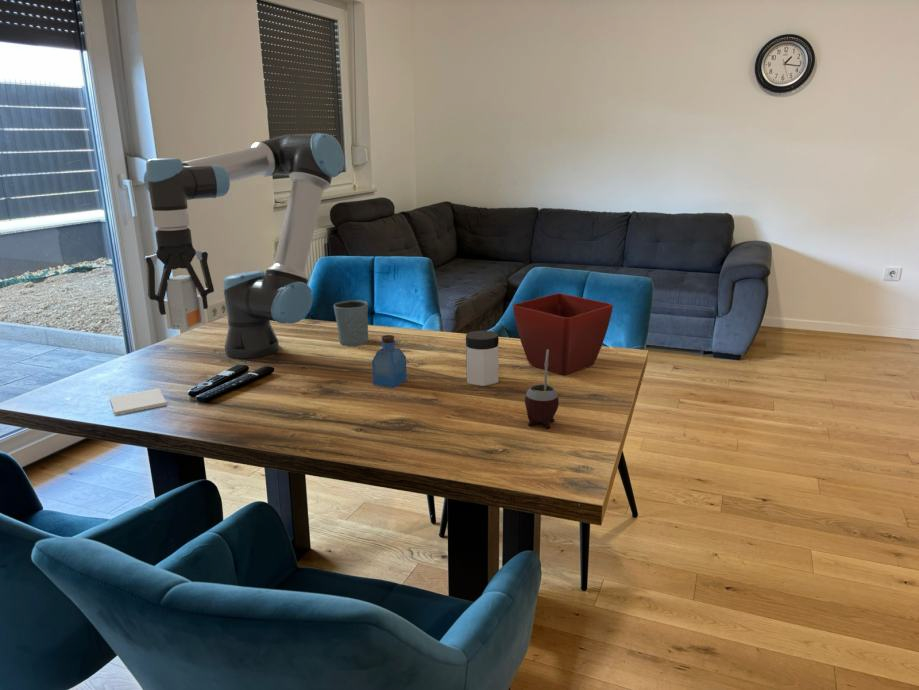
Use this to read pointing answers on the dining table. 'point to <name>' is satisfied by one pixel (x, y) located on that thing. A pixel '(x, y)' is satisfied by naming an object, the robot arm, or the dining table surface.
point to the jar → (482, 358)
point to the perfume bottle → (389, 364)
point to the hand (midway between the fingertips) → (186, 324)
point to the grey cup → (352, 322)
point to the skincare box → (182, 302)
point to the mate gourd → (541, 402)
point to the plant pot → (562, 331)
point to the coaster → (137, 401)
